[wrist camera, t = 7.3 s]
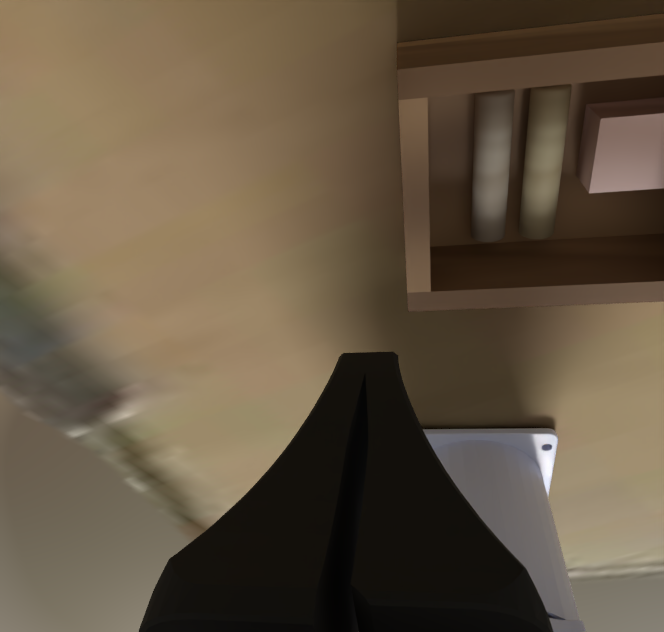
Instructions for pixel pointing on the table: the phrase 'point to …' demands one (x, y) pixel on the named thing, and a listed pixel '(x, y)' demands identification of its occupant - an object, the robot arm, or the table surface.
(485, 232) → the pencil box
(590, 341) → the table surface
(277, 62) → the table surface
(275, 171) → the table surface
